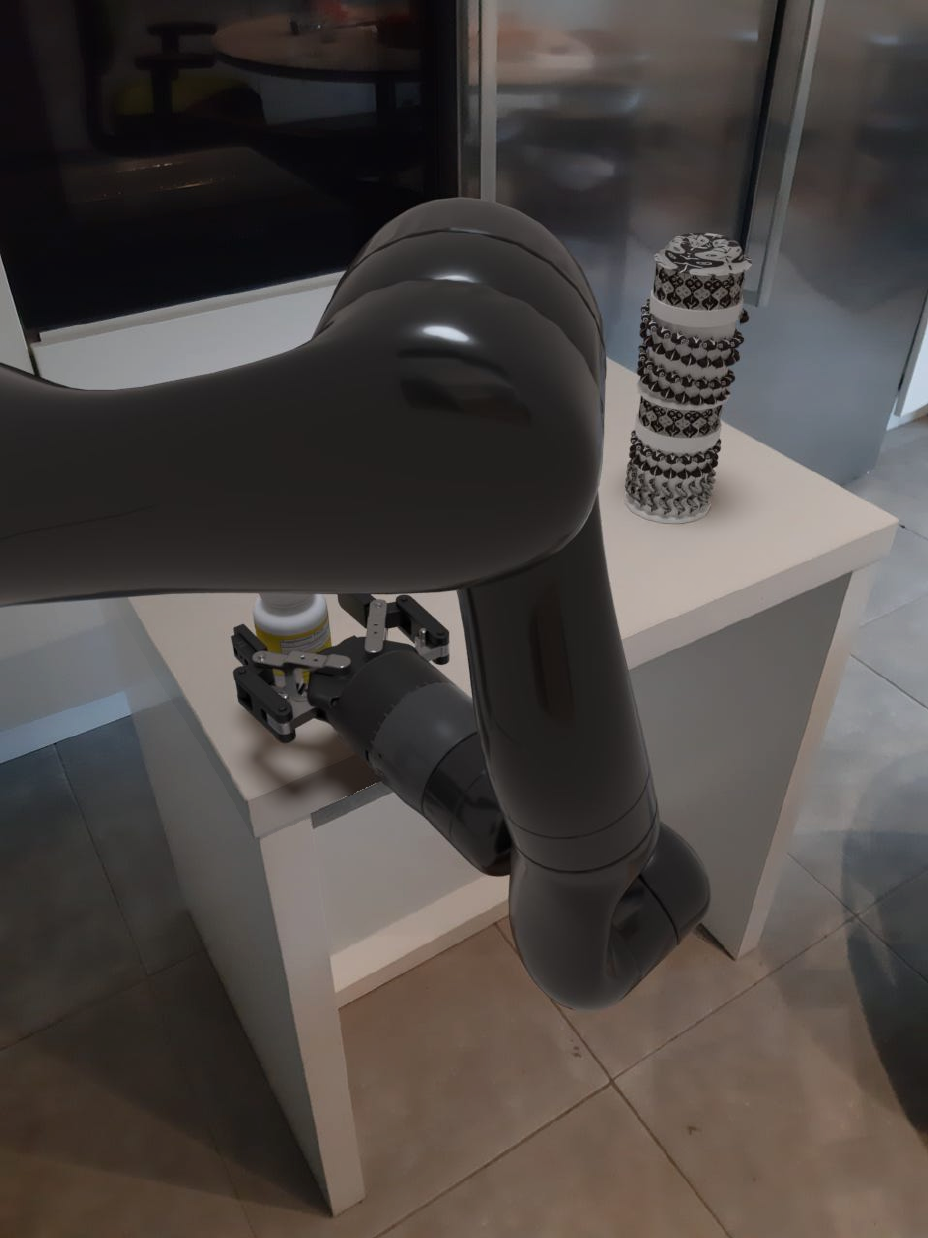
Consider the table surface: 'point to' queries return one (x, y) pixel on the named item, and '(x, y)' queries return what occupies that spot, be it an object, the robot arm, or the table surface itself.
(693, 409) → the decorative candle
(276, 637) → the supplement bottle
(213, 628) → the table surface
